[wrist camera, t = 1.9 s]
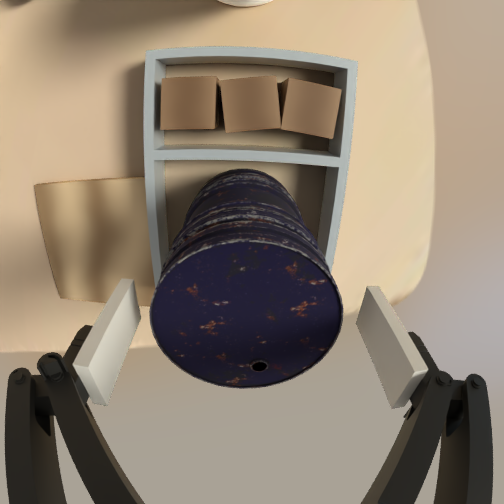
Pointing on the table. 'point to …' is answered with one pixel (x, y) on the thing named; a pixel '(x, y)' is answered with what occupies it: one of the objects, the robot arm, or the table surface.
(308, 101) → the block
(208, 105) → the block
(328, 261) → the tray
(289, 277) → the rusty oil drum
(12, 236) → the table surface
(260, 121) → the block
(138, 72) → the table surface
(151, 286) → the mat
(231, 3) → the jar
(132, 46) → the table surface
